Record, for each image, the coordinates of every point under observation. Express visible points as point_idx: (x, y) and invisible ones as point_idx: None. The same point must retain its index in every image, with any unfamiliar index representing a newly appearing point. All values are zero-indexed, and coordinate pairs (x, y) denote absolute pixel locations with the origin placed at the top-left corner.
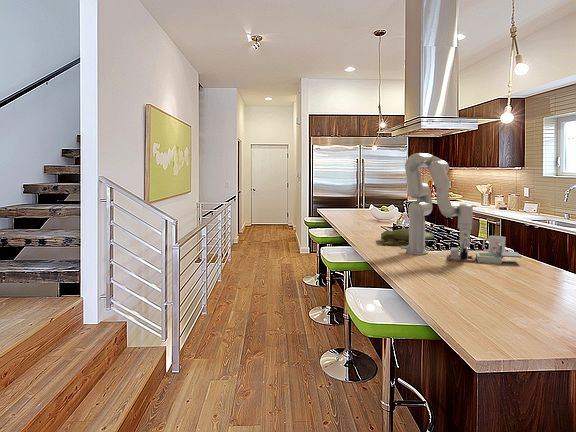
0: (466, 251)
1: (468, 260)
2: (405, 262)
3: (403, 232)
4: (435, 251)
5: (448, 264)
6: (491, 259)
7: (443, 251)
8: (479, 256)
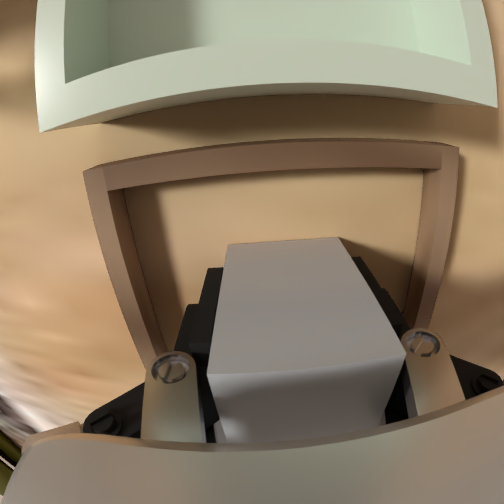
0: (442, 348)
1: (445, 235)
2: None
3: None
4: (45, 427)
5: (493, 363)
6: None
7: (9, 392)
8: (492, 83)
